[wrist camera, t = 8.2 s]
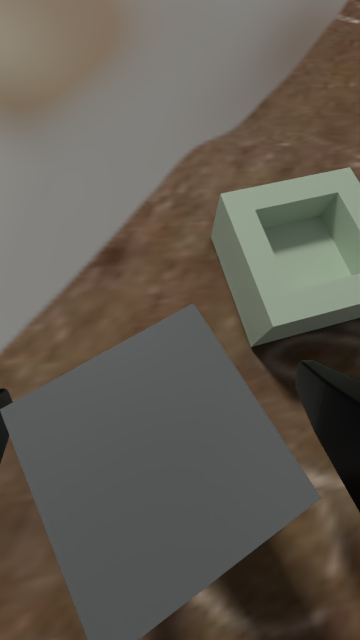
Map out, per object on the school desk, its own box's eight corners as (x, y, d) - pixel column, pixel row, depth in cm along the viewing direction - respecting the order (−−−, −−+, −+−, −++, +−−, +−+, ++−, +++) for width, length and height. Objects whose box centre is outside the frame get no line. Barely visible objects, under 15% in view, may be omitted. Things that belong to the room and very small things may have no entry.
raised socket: (369, 314, 18) (421, 287, 14) (250, 346, 17) (273, 326, 13) (317, 213, 21) (350, 167, 17) (211, 237, 20) (220, 193, 16)
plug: (212, 439, 15) (321, 497, 4) (155, 477, 15) (99, 669, 3) (178, 382, 16) (193, 302, 5) (124, 416, 16) (-1, 409, 4)
